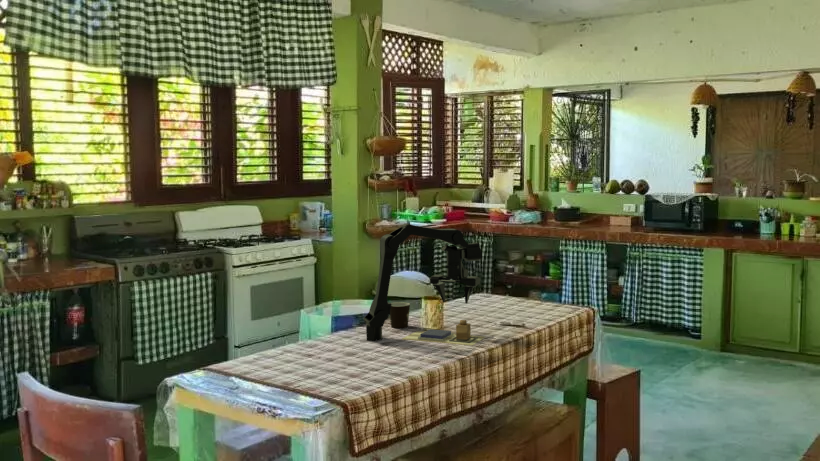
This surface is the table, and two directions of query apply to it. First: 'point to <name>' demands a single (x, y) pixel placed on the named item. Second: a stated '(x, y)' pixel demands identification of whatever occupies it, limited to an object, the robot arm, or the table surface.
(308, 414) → the table surface
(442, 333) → the ink pad
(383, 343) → the table surface
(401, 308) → the coffee mug
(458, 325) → the stamp
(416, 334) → the station board
